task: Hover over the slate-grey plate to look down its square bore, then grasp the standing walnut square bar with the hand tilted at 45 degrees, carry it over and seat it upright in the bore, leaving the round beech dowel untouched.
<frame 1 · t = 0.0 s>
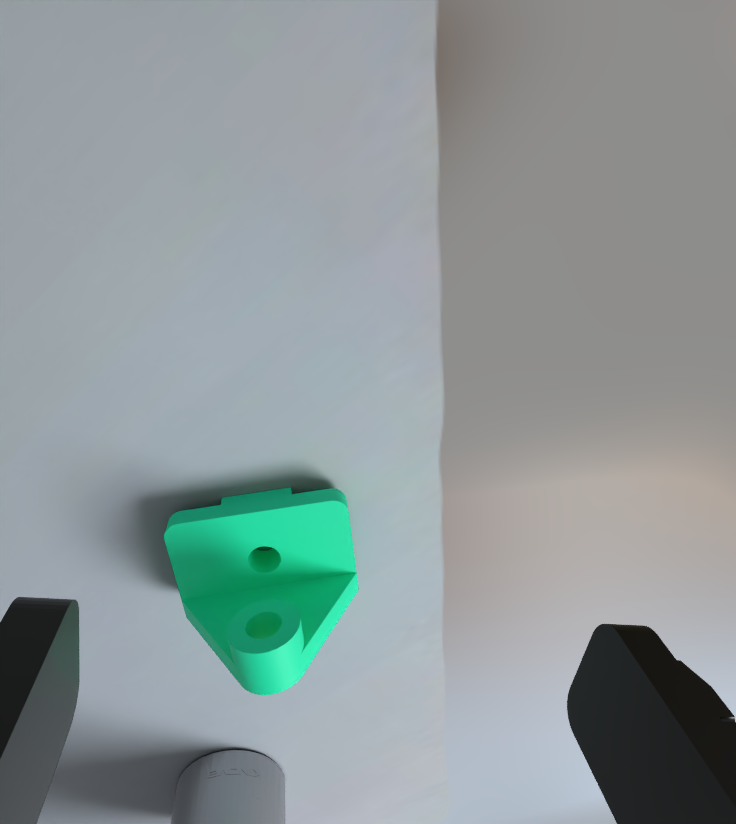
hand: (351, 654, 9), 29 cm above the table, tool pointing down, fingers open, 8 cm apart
camera mount: (265, 534, 44), on the table
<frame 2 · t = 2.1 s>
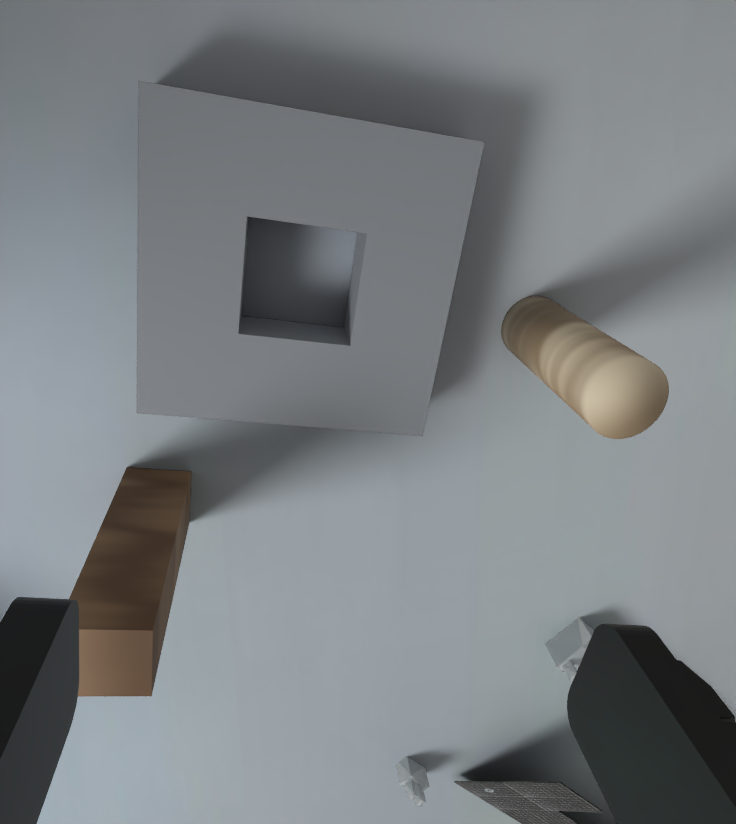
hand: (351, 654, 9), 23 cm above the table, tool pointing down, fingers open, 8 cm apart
beech dowel: (531, 327, 33), on the table
paper cutter: (635, 798, 54), on the table
walnut bar: (158, 495, 34), on the table
bore plate: (299, 270, 30), on the table
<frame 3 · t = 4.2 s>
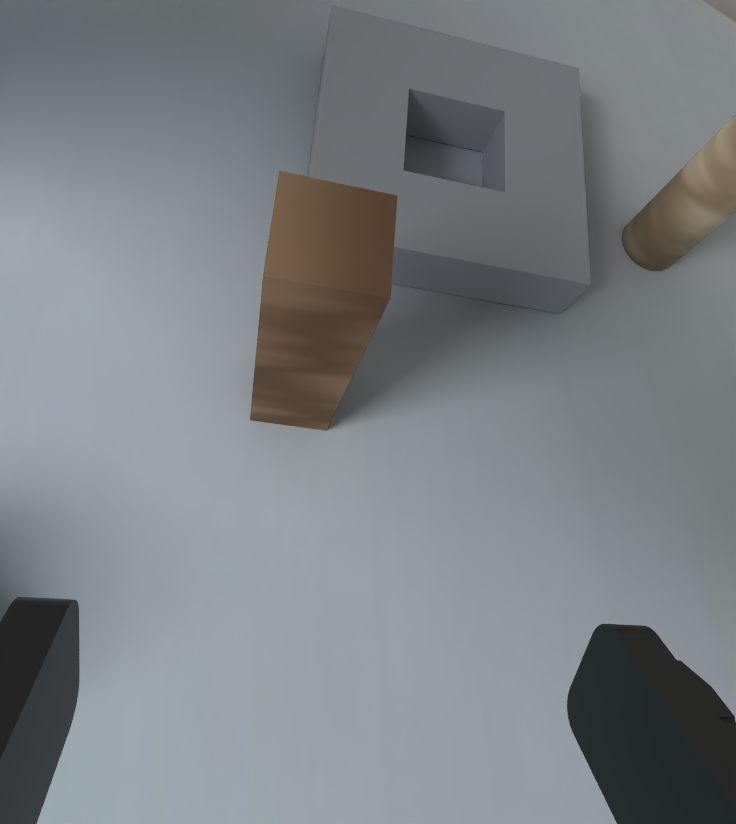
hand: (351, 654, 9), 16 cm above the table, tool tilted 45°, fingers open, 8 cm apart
beech dowel: (648, 245, 35), on the table
walnut bar: (293, 390, 28), on the table
bore plate: (437, 179, 34), on the table
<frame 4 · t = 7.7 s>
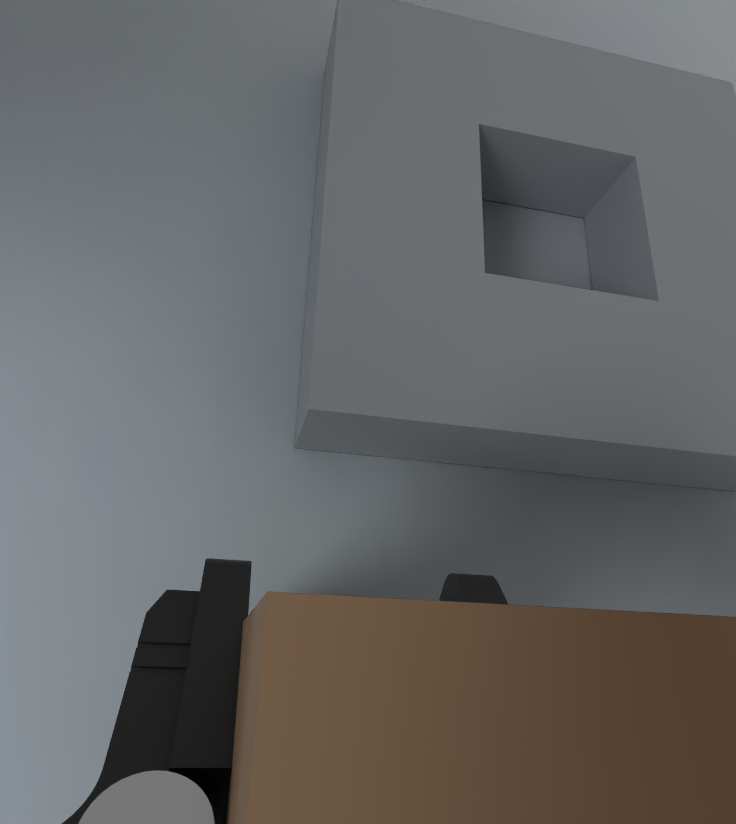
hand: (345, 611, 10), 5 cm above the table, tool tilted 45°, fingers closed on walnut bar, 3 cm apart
walnut bar: (299, 713, 14), on the table, touching gripper
bore plate: (520, 268, 20), on the table
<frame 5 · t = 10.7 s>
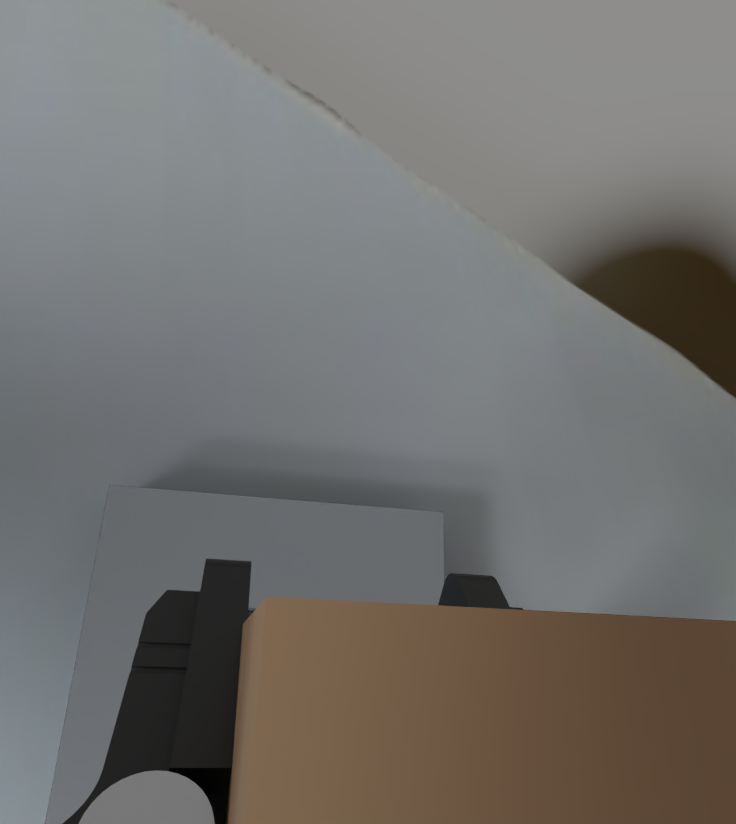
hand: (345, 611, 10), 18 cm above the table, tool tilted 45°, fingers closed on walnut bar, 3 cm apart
walnut bar: (299, 714, 14), point 13 cm above the table, touching gripper
bore plate: (264, 676, 26), on the table
when the fingers open (7 cm above the table, at t = 13.5 s): walnut bar drops 1 cm, resting in bore plate.
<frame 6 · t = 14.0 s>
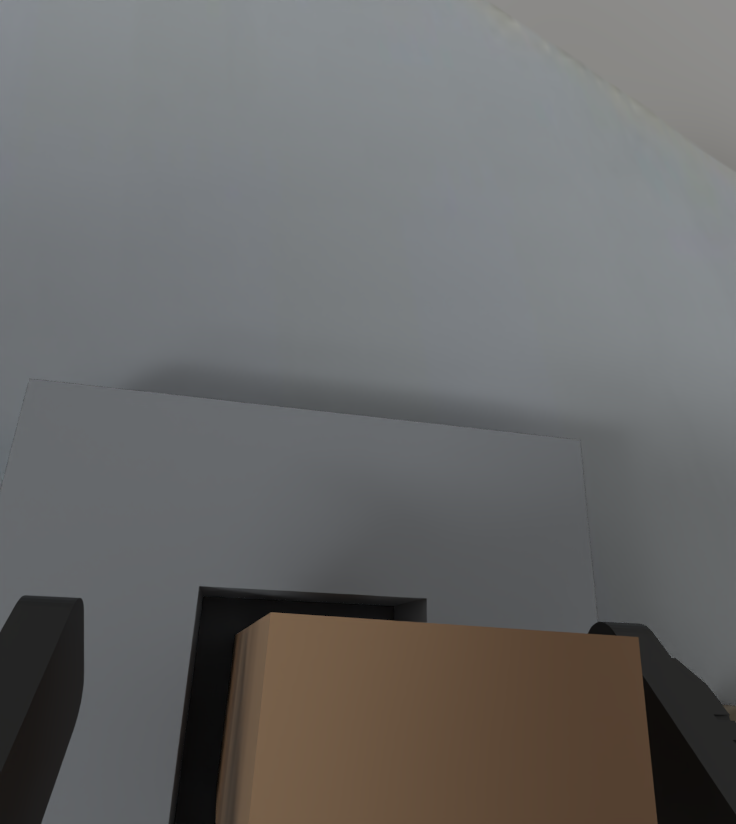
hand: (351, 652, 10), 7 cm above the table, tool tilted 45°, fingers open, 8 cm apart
walnut bar: (293, 710, 16), resting in bore plate
bore plate: (294, 707, 16), on the table
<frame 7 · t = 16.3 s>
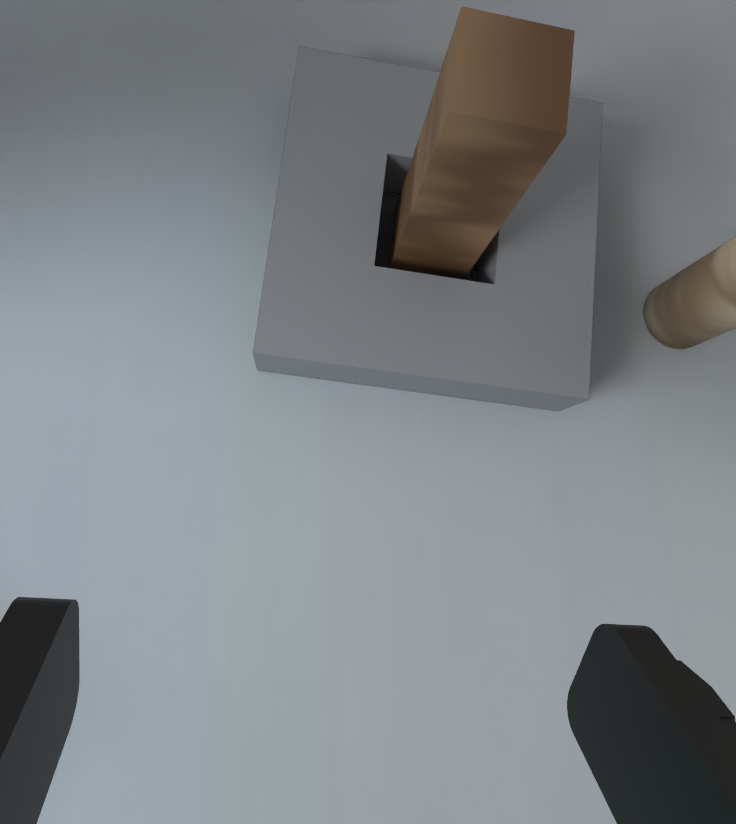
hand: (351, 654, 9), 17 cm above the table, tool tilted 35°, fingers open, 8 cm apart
beech dowel: (676, 315, 30), on the table
walnut bar: (425, 249, 29), resting in bore plate
bore plate: (426, 248, 29), on the table
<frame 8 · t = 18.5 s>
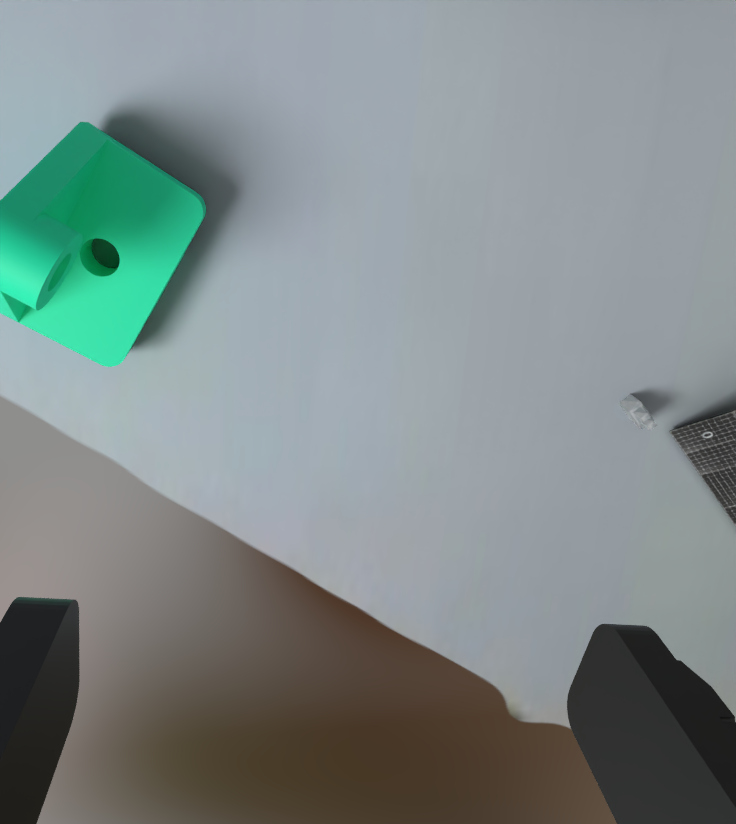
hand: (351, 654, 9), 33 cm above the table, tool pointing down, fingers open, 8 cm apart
camera mount: (112, 249, 38), on the table
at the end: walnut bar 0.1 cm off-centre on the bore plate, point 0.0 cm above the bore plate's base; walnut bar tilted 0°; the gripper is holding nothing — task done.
